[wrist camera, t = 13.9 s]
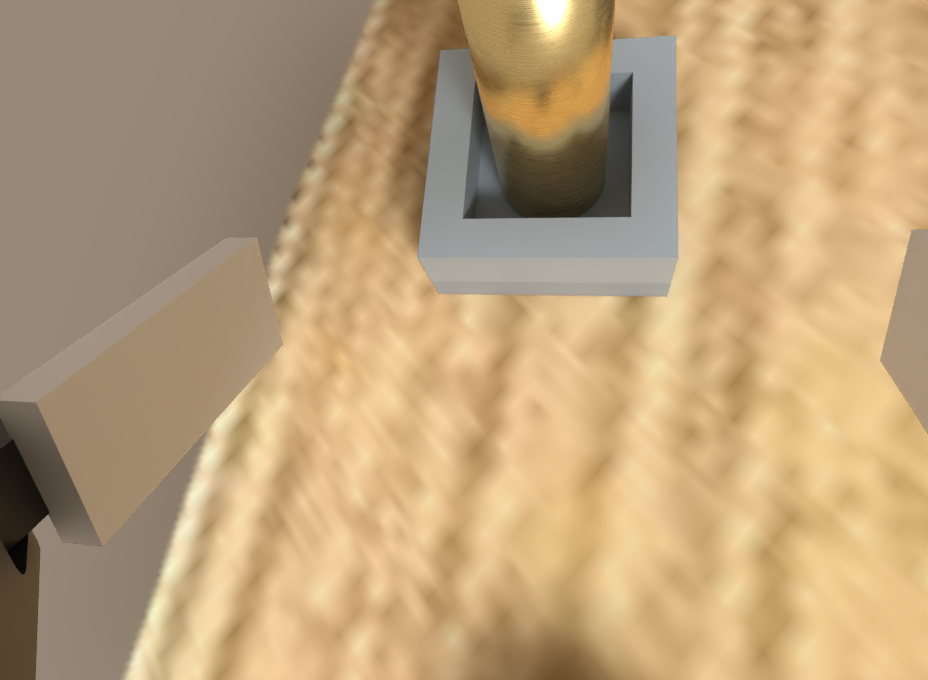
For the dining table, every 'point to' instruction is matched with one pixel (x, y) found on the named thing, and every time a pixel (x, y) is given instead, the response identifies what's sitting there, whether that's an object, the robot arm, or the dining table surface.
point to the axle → (544, 98)
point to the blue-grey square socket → (556, 239)
